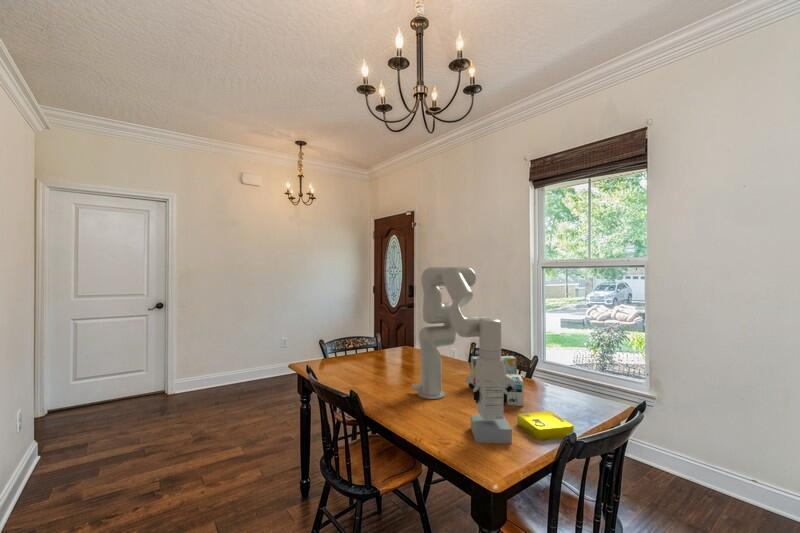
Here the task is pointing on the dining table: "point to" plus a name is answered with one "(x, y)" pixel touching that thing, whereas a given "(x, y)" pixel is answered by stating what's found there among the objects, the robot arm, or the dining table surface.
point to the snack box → (508, 363)
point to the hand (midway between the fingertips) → (490, 403)
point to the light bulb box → (516, 391)
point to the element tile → (544, 425)
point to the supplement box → (491, 401)
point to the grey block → (490, 430)
